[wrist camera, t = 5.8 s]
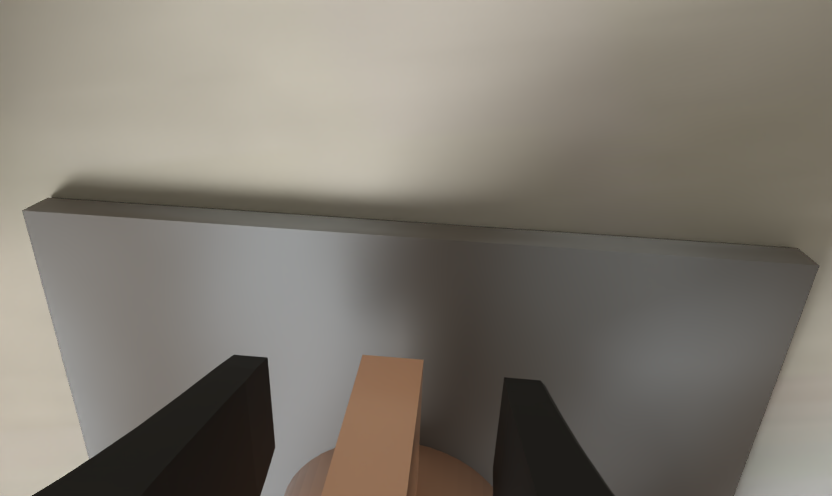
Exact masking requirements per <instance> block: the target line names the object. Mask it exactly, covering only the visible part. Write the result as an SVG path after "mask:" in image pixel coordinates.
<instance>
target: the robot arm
mask: <svg viewBox="0 0 832 496" xmlns="http://www.w3.org/2000/svg"><path fill="white" fill-rule="evenodd" d="M274 450H275V436H274V425H273V413H272V402H271V390H270V379H269V367H268V357H256V356H244V355H233V356H231V357H230V358H228V359H227V360H226V361H224V362H223V363H221V364H220V365H219V366H217V367H216V368H215V369H213V370H212V371H211V372H209V373H208V374H207V375H206V376H204V377H203V378H202V379H200V380H199V381H198V382H196V383H195V384H194V385H193V386H191V387H190V388H189V389H187V390H186V391H185V392H183V393H182V394H181V395H179V396H178V397H177V398H175V399H174V400H173V401H171V402H170V403H169V404H167V405H166V406H165V407H163V408H162V409H161V410H159V411H158V412H156V413H155V414H154V415H152V416H151V417H150V418H148V419H147V420H146V421H144V422H143V423H142V424H140V425H139V426H138V427H136V428H135V429H133V430H132V431H130V432H129V433H127V434H126V435H124V436H123V437H121V438H120V439H119V440H117V441H116V442H114V443H113V444H111V445H110V446H108V447H107V448H105V449H104V450H102V451H101V452H99V453H98V454H96V455H95V456H94V457H92V458H91V459H89V460H88V461H86V462H85V463H83V464H82V465H80V466H79V467H77V468H76V469H74V470H73V471H71V472H70V473H68V474H66V475H65V476H63V477H62V478H60V479H59V480H57V481H55V482H54V483H52V484H50V485H49V486H47V487H45V488H44V489H42V490H41V491H39V492H37V493H36V494H34V495H32V496H260V495H261V492H262V489H263V486H264V483H265V480H266V477H267V474H268V470H269V467H270V464H271V460H272V457H273V454H274ZM493 496H615V495H614V494H613V492H612V491H611V490H610V488H609V487H608V485H607V484H606V483H605V481H604V480H603V478H602V477H601V475H600V474H599V472H598V471H597V469H596V468H595V466H594V465H593V464H592V462H591V461H590V459H589V458H588V456H587V455H586V453H585V452H584V450H583V449H582V447H581V446H580V444H579V442H578V441H577V439H576V438H575V436H574V434H573V433H572V431H571V430H570V428H569V426H568V425H567V423H566V421H565V420H564V418H563V416H562V415H561V413H560V411H559V409H558V408H557V406H556V404H555V402H554V401H553V399H552V397H551V395H550V393H549V392H548V390H547V388H546V386H545V385H544V384H543V383H542V382H541V380H531V379H519V378H507V377H504V382H503V390H502V398H501V406H500V414H499V422H498V430H497V438H496V446H495V454H494V462H493Z"/></svg>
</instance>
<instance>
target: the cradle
mask: <svg viewBox="0 0 832 496" xmlns="http://www.w3.org/2000/svg"><path fill="white" fill-rule="evenodd" d="M22 211H23V215H24V219H25V222H26V226H27V230H28V233H29V237H30V241H31V245H32V248H33V252H34V256H35V259H36V263H37V267H38V271H39V274H40V278H41V282H42V285H43V289H44V293H45V297H46V300H47V304H48V308H49V311H50V315H51V319H52V323H53V326H54V330H55V334H56V337H57V341H58V345H59V349H60V352H61V356H62V360H63V363H64V367H65V371H66V375H67V378H68V382H69V386H70V389H71V393H72V397H73V401H74V404H75V408H76V412H77V415H78V419H79V423H80V427H81V430H82V434H83V438H84V441H85V445H86V449H87V453H88V456H89V459H91V458H92V457H94V456H95V455H96V454H98V453H99V452H101V451H102V450H104V449H105V448H107V447H108V446H110V445H111V444H113V443H114V442H116V441H117V440H119V439H120V438H121V437H123V436H124V435H126V434H127V433H129V432H130V431H132V430H133V429H135V428H136V427H138V426H139V425H140V424H142V423H143V422H144V421H146V420H147V419H148V418H150V417H151V416H152V415H154V414H155V413H156V412H158V411H159V410H161V409H162V408H163V407H165V406H166V405H167V404H169V403H170V402H171V401H173V400H174V399H175V398H177V397H178V396H179V395H181V394H182V393H183V392H185V391H186V390H187V389H189V388H190V387H191V386H193V385H194V384H195V383H196V382H198V381H199V380H200V379H202V378H203V377H204V376H206V375H207V374H208V373H209V372H211V371H212V370H213V369H215V368H216V367H217V366H219V365H220V364H221V363H223V362H224V361H226V360H227V359H228V358H230V357H231V356H233V355H244V356H256V357H268V367H269V379H270V390H271V402H272V413H273V425H274V436H275V450H274V454H273V457H272V460H271V464H270V467H269V470H268V474H267V477H266V480H265V483H264V486H263V489H262V492H261V495H260V496H284V494H285V491H286V489H287V486H288V485H289V483H290V481H291V480H292V478H293V477H294V476H295V474H296V473H297V472H298V471H299V470H300V469H301V468H302V467H303V466H304V465H306V464H307V463H308V462H309V461H310V460H312V459H314V458H315V457H317V456H319V455H320V454H322V453H324V452H327V451H329V450H331V449H334V448H335V447H336V443H337V440H338V436H339V433H340V430H341V426H342V423H343V419H344V416H345V413H346V409H347V406H348V403H349V399H350V396H351V392H352V389H353V386H354V382H355V379H356V375H357V372H358V369H359V365H360V362H361V358H362V355H372V356H384V357H396V358H408V359H420V360H424V363H423V383H422V402H421V421H420V440H419V445H422V446H426V447H430V448H433V449H436V450H438V451H441V452H444V453H446V454H448V455H450V456H452V457H454V458H456V459H458V460H460V461H462V462H463V463H465V464H466V465H468V466H470V467H471V468H472V469H474V470H475V471H476V472H477V473H479V474H480V475H481V476H482V477H483V478H484V479H485V480H486V481H487V482H488V483H489V484H490V485H491V486H492V487H493V462H494V454H495V446H496V438H497V430H498V422H499V414H500V406H501V398H502V390H503V382H504V377H507V378H519V379H531V380H541V382H542V383H543V384H544V385H545V386H546V388H547V390H548V392H549V393H550V395H551V397H552V399H553V401H554V402H555V404H556V406H557V408H558V409H559V411H560V413H561V415H562V416H563V418H564V420H565V421H566V423H567V425H568V426H569V428H570V430H571V431H572V433H573V434H574V436H575V438H576V439H577V441H578V442H579V444H580V446H581V447H582V449H583V450H584V452H585V453H586V455H587V456H588V458H589V459H590V461H591V462H592V464H593V465H594V466H595V468H596V469H597V471H598V472H599V474H600V475H601V477H602V478H603V480H604V481H605V483H606V484H607V485H608V487H609V488H610V490H611V491H612V492H613V494H614V495H615V496H734V493H735V491H736V488H737V485H738V483H739V480H740V477H741V475H742V472H743V469H744V467H745V464H746V461H747V459H748V456H749V453H750V450H751V448H752V445H753V442H754V440H755V437H756V434H757V432H758V429H759V426H760V424H761V421H762V418H763V416H764V413H765V410H766V408H767V405H768V402H769V399H770V397H771V394H772V391H773V389H774V386H775V383H776V381H777V378H778V375H779V373H780V370H781V367H782V365H783V362H784V359H785V357H786V354H787V351H788V348H789V346H790V343H791V340H792V338H793V335H794V332H795V330H796V327H797V324H798V322H799V319H800V316H801V314H802V311H803V308H804V306H805V303H806V300H807V298H808V295H809V292H810V289H811V287H812V284H813V281H814V279H815V276H816V273H817V271H818V268H819V265H818V264H817V263H815V262H814V261H813V260H812V259H810V258H809V257H808V256H807V255H805V254H804V253H803V252H802V251H800V250H799V249H798V248H786V247H771V246H756V245H741V244H727V243H712V242H697V241H682V240H667V239H652V238H638V237H623V236H608V235H593V234H578V233H564V232H549V231H534V230H519V229H504V228H489V227H475V226H460V225H445V224H430V223H415V222H400V221H386V220H371V219H356V218H341V217H326V216H311V215H297V214H282V213H267V212H252V211H237V210H222V209H208V208H193V207H178V206H163V205H148V204H133V203H119V202H104V201H89V200H74V199H59V198H47V199H45V200H43V201H41V202H39V203H36V204H34V205H32V206H30V207H28V208H26V209H24V210H22Z"/></svg>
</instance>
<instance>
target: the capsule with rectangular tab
mask: <svg viewBox="0 0 832 496" xmlns="http://www.w3.org/2000/svg"><path fill="white" fill-rule="evenodd" d="M423 363H424V360H420V359H408V358H396V357H384V356H372V355H362V358H361V362H360V365H359V369H358V372H357V375H356V379H355V382H354V386H353V389H352V392H351V396H350V399H349V403H348V406H347V409H346V413H345V416H344V419H343V423H342V426H341V430H340V433H339V436H338V440H337V443H336V447H335V448H334V449H331V450H329V451H327V452H324V453H322V454H320V455H319V456H317V457H315V458H314V459H312V460H310V461H309V462H308V463H307V464H306V465H304V466H303V467H302V468H301V469H300V470H299V471H298V472H297V473H296V474H295V476H294V477H293V478H292V480H291V481H290V483H289V485H288V486H287V489H286V491H285V494H284V496H493V487H492V486H491V485H490V484H489V483H488V482H487V481H486V480H485V479H484V478H483V477H482V476H481V475H480V474H479V473H477V472H476V471H475V470H474V469H472V468H471V467H470V466H468V465H466V464H465V463H463V462H462V461H460V460H458V459H456V458H454V457H452V456H450V455H448V454H446V453H444V452H441V451H438V450H436V449H433V448H430V447H426V446H422V445H419V440H420V421H421V402H422V383H423Z"/></svg>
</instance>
